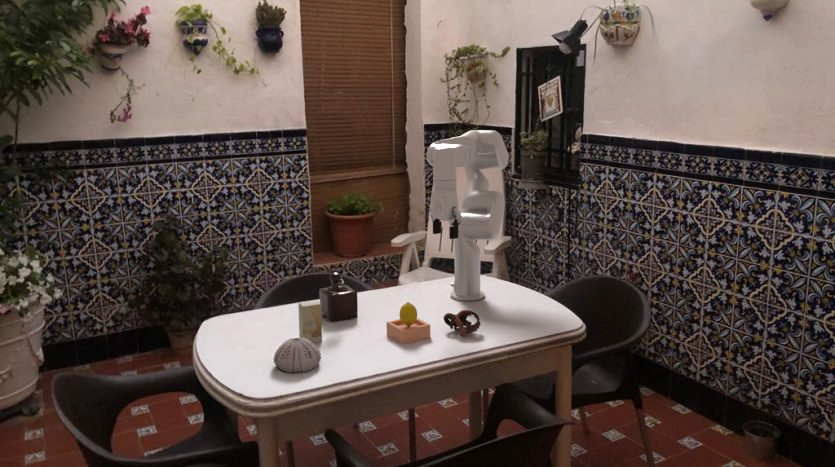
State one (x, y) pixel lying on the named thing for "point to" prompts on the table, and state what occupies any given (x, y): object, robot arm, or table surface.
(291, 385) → the table surface
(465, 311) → the pottery mug
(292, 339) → the sea urchin shell
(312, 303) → the skincare box
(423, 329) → the orange square tray
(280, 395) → the table surface
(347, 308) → the dark square decanter
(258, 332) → the table surface
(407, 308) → the lemon
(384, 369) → the table surface
